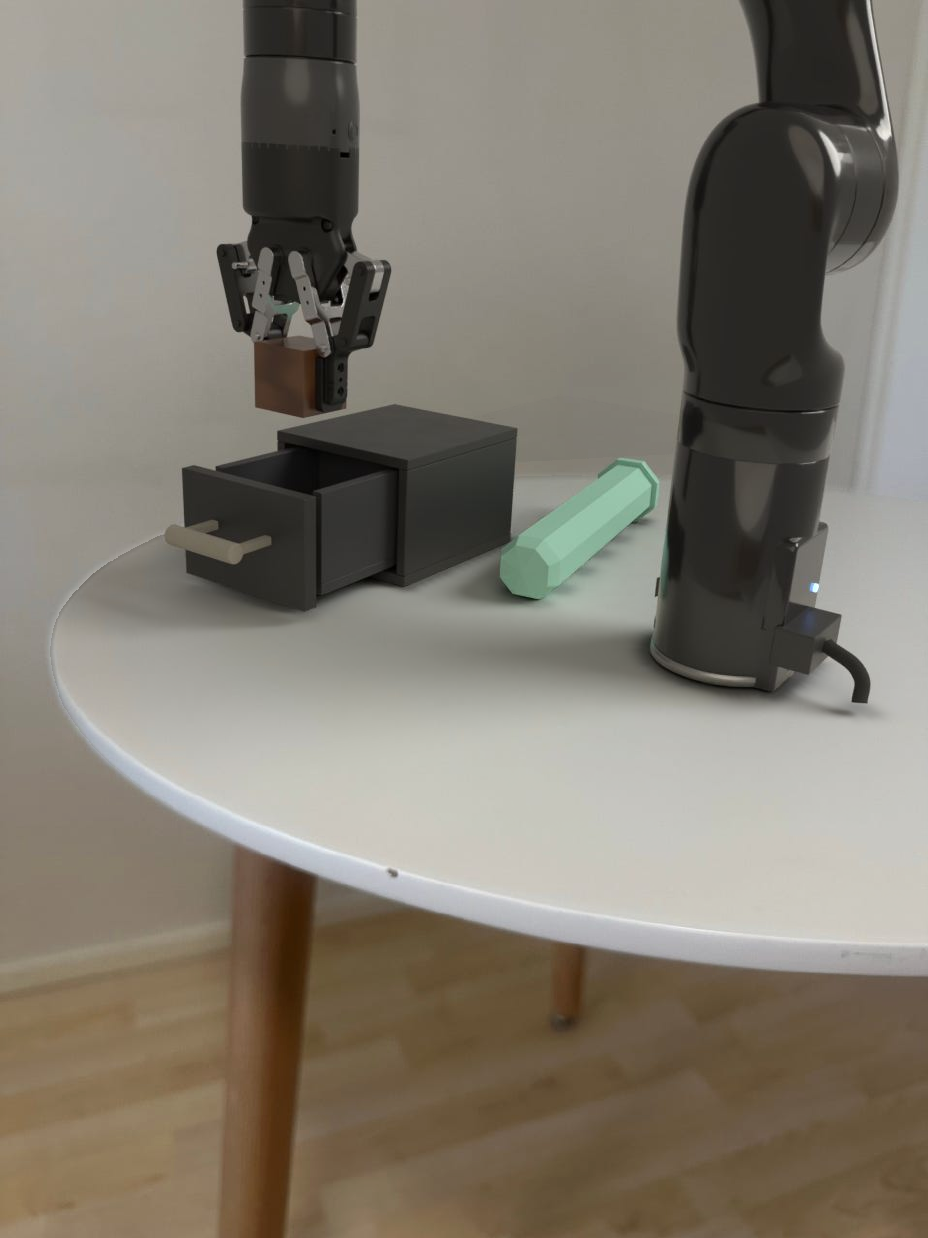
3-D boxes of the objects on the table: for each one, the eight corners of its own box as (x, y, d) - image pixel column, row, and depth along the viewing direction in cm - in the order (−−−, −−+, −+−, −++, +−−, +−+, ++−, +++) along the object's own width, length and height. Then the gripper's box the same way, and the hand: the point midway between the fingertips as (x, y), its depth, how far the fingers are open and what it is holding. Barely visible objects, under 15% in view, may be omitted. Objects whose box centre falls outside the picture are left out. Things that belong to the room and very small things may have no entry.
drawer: (260, 630, 74) (257, 514, 71) (140, 588, 80) (133, 479, 77) (424, 562, 88) (428, 462, 85) (311, 531, 94) (311, 436, 91)
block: (346, 408, 81) (347, 343, 79) (303, 418, 78) (303, 350, 76) (299, 398, 83) (298, 335, 82) (254, 407, 80) (253, 341, 78)
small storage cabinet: (404, 587, 85) (407, 460, 82) (278, 549, 92) (276, 430, 88) (510, 541, 96) (518, 427, 93) (391, 510, 103) (394, 403, 99)
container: (545, 526, 80) (650, 449, 101) (473, 543, 83) (589, 465, 104) (570, 605, 81) (668, 513, 102) (497, 619, 84) (608, 526, 105)
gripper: (178, 132, 75) (189, 396, 81) (347, 142, 67) (344, 430, 74) (261, 137, 80) (264, 382, 87) (424, 146, 73) (415, 413, 80)
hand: (301, 403), depth 80 cm, fingers closed on block, 4 cm apart
